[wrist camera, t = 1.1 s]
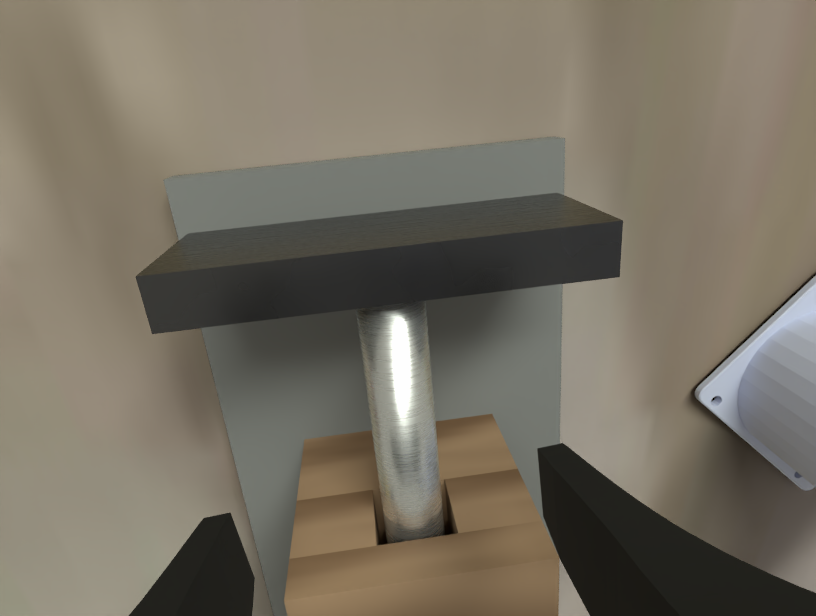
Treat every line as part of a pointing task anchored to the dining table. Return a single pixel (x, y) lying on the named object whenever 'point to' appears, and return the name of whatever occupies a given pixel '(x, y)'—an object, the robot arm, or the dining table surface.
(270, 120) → the dining table surface
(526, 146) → the mat
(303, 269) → the grey and silver t-piece
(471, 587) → the bearing block
